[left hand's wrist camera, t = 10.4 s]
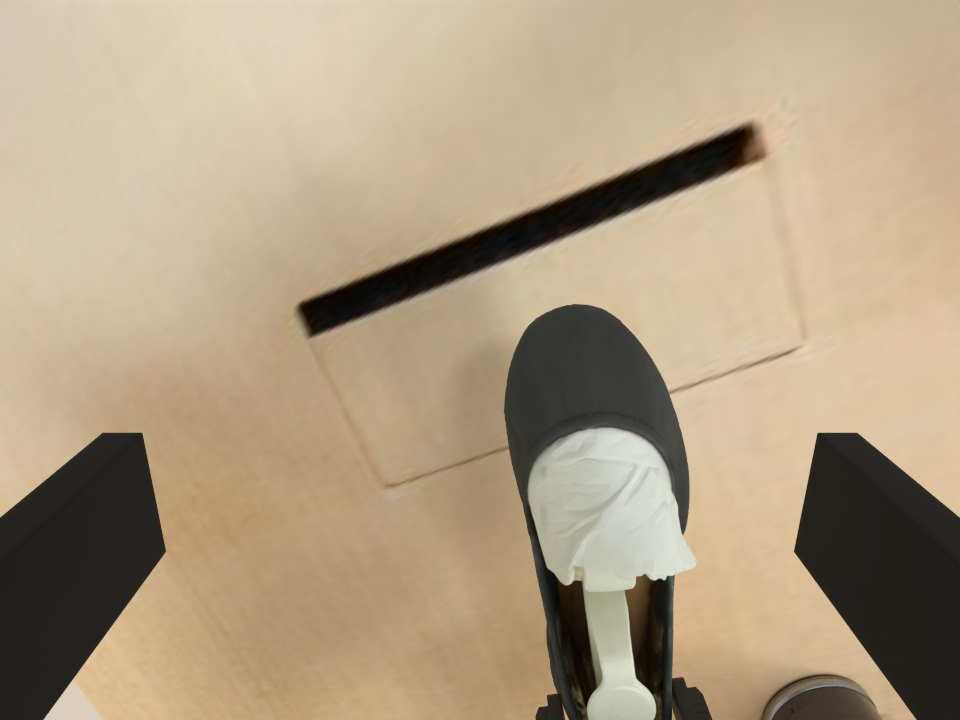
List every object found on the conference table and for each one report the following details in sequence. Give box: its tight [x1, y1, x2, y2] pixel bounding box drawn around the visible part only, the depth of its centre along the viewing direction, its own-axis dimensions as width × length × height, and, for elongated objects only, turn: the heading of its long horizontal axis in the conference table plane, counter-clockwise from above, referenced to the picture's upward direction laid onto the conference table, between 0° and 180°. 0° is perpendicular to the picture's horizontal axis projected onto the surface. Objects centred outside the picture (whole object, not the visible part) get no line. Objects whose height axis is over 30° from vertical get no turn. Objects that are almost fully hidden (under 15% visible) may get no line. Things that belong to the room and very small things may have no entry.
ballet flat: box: [504, 304, 697, 720], centre depth 30 cm, size 8×24×8 cm, turn 11°
